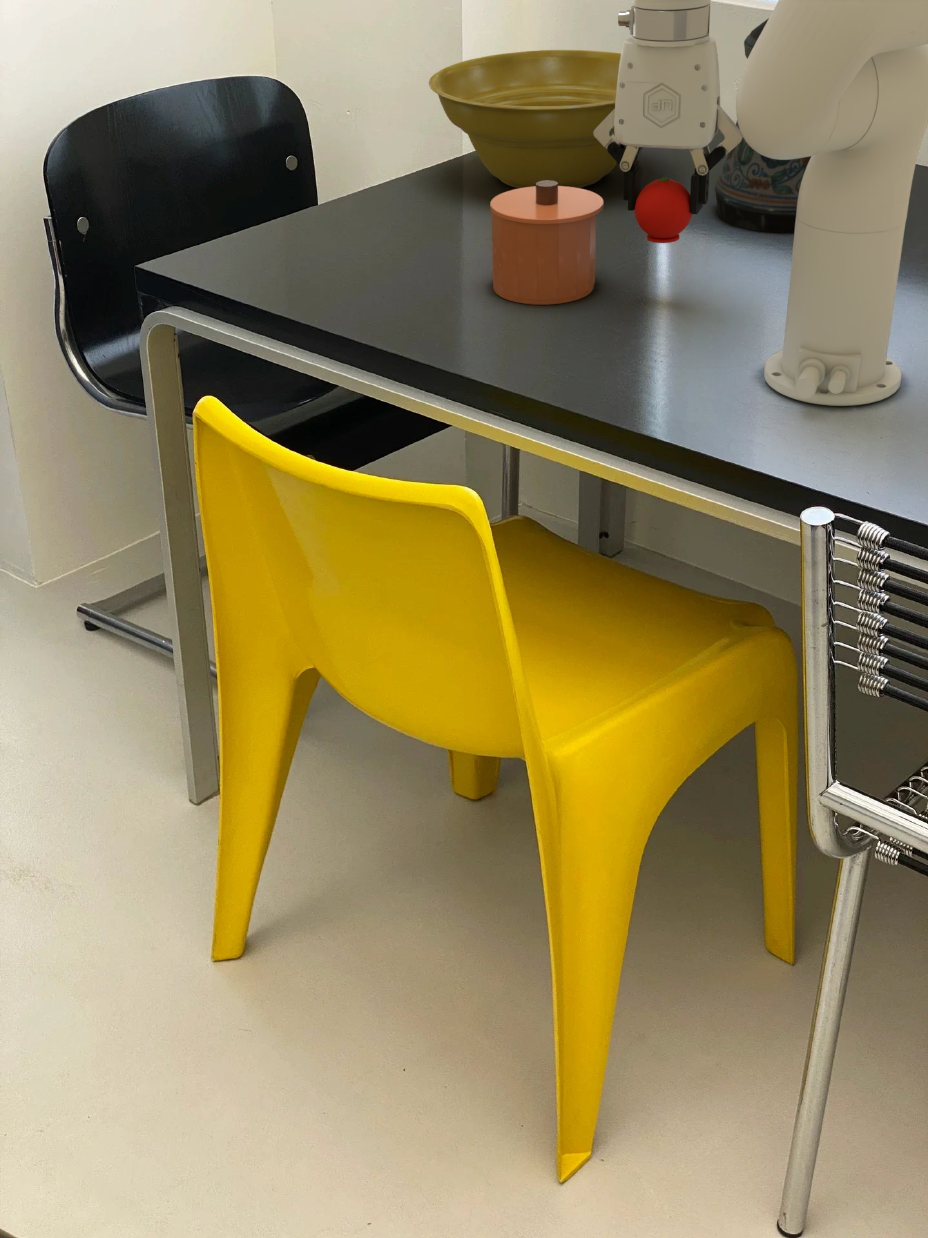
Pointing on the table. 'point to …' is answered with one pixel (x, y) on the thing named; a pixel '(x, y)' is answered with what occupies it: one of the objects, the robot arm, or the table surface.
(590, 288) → the pot
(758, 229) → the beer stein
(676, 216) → the tomato
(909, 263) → the table surface
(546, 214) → the pot lid
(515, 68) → the planter bowl
